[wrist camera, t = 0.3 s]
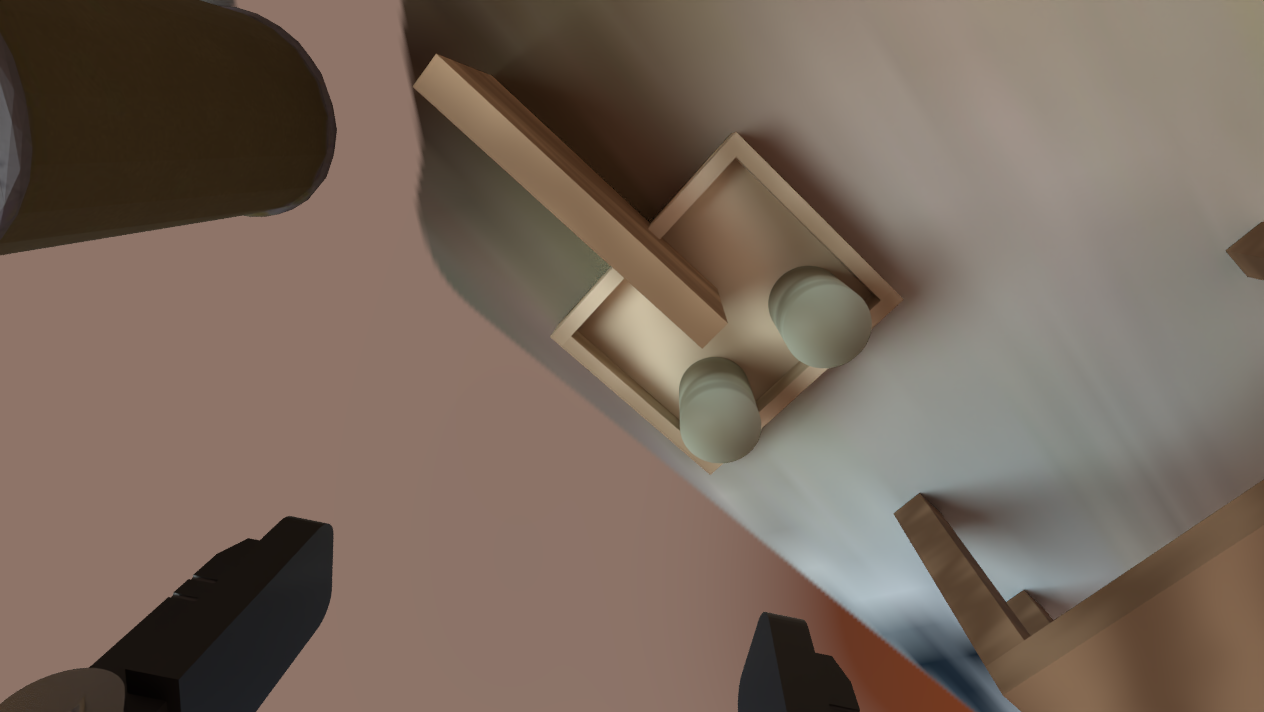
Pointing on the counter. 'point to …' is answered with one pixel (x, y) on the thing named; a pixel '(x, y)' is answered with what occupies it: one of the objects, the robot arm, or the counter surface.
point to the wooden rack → (1125, 611)
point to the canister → (151, 118)
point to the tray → (686, 277)
